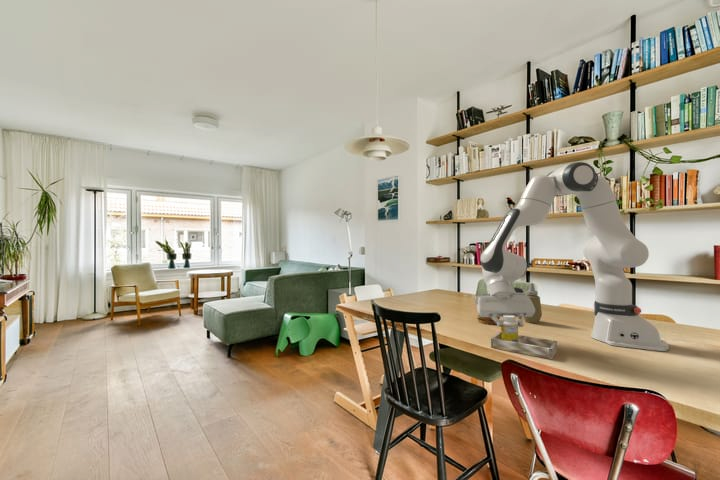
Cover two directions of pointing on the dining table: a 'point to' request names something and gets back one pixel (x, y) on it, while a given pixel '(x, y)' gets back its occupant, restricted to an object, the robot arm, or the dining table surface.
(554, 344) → the grey divided wooden tray
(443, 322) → the dining table surface
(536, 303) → the squeeze bottle
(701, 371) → the dining table surface
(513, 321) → the supplement bottle
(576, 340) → the dining table surface
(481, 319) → the burger
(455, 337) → the dining table surface
